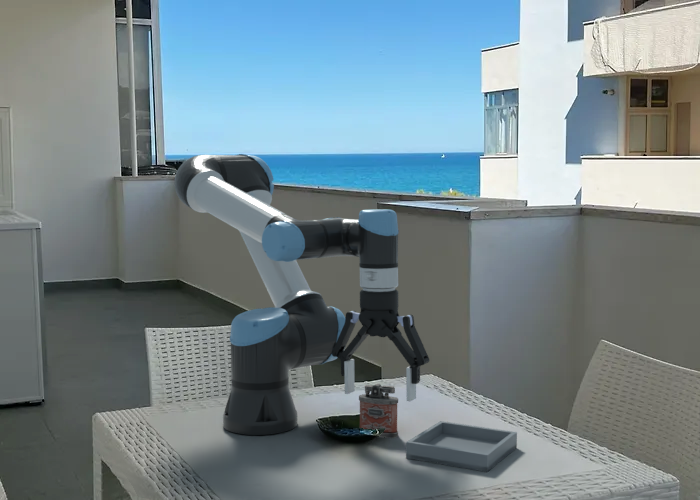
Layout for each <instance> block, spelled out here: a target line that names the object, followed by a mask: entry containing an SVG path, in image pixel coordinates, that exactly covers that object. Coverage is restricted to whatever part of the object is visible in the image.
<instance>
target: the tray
mask: <svg viewBox="0 0 700 500" xmlns="http://www.w3.org/2000/svg"><path fill="white" fill-rule="evenodd" d="M517 446H518V432H517V431H510V430H504V429H498V428H490V427H485V426H484V427H483V426H476V425H471V424H470V425H469V424H465V423H456V422H449V421H443V420H440V421H438V422H436V423H434V424H433V425H431V426H430V427H428V428H427V429H425V430H423V431H422V432H420V433H418V434H417V435H415V436H414V437H412V438H410V439H409V440H408V441H407V440H406V441H405V459H409V460H414V461H420V462H425V463H426V462H427V463H432V464H439V465H445V466H450V467H456V468H460V469H461V468H463V469H468V470H473V471H478V472H479V471H480V472H484V473H485V472H486V473H488V472H489V471H490V470H491V469H493V468H494V467H496V466H497V464H499V463H500V462H502V461H503V460H504V459H505V458H506V457H507V456H508V455H510V454H511V453H513V451H515V450H516V449H517Z"/></svg>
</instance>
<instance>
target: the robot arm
mask: <svg viewBox="0 0 700 500" xmlns="http://www.w3.org/2000/svg"><path fill="white" fill-rule="evenodd" d="M273 181H274V176H273V172H272V170H271V168H270V166H269V165H268V164H267V162H266V161H265V160H264V159H262V158H261V157H259V156H256V155H251V154H250V155H249V154H244V153H239V154H235V155H233V154H199V155H194V156H192V157H190V158H188V159H186V160H185V161H184V162H183V163H182V164H180V166H179V167H178V169H177V171H176V173H175V177H174V185H173V186H174V190H175V193H176V196H177V197H178V199H179V201H180V202H182V203H183V204H184V205H185V206H186V207H189V208H190V209H192V210H193V211H194V212H198V213H199V214H200V213H204V214H205V213H208V214H210V215H211V216H213V217H215V218H216V219H218V220H220V221H222V222H223V223H225V224H227V225H228V226H230V227H232V228H234V229H236V230H238V231H239V232H238V233H239V234H240V236H241V238H242V240H243V242H244V244H245V246H246V248H247V251H248V252H249V254H250V257H251V258H252V261H253V264H254V265H255V267H256V269H257V272H258V274H259V276H260V279H261V280H262V283H263V284H264V286H265V289H266V290H267V293H268V295H269V297H270V299H271V301H272V303H273V305H274V306H273V307H264V308H263V307H262V308H259V307H258V308H254V309H249V310H246V311H244V312H241V313H239V314H237V315H236V316H235V317H234V318H233V319H232V321H231V324H230V334H229V335H230V336H229V342H230V376H231V378H230V379H231V380H230V381H231V384H230V385H231V388H230V392H229V395H228V399H227V402H226V405H225V408H224V411H223V415H222V423H223V424H222V427H223V428H224V429H225V430H226V431H228V432H231V433H235V434H240V435H247V436H248V435H249V436H262V435H263V436H266V435H273V434H274V435H275V434H281V433H285V432H288V431H291V430H293V429H295V428H296V427H297V426H298V412H297V409H296V406H295V402H294V399H293V396H292V393H291V390H290V384H289V383H290V382H289V377H290V375H289V373H290V372H289V371H290V370H294V369H299V368H305V367H311V366H315V365H316V366H317V365H324V364H326V363H328V362H332V361H335V360H337V359H339V360H340V374H341V377H344V394H345V395H349V394H351V393H352V394H353V392H355V387H356V386H355V359H354V358H352V356H353V355H354V354H355V353H356V351H357V350H358V348H359V347H360V346H361V345H362V344H363V343H364V341H365V340H366V339H367V337H368V336H369V337H379V338H386V337H387V338H388V340H390V341H392V343H393V344H394V346H395V347H396V348H397V350H398V351H399V352H400V353H401V355H402V357H403V358H404V359H405V361H406V362H407V364H408V365H409V366H407V367H406V369H405V370H406V371H405V372H406V373H405V374H406V377H405V378H406V402H412V401H414V400H416V399H417V384H419V383H420V382H421V366H424V365H427V364H428V363H430V358H429V355H428V353H427V350H426V348H425V346H424V344H423V342H422V339H421V338H420V335H419V333H418V330H417V328H416V326H415V318H414V316H413V315H412V314H407V315H400V313H399V291H398V290H397V289H396V288H397V287H399V263H398V261H399V253H398V252H399V248H398V247H399V226H398V215H397V214H398V213H397V212H396V211H394V210H393V209H383V208H382V209H379V208H378V209H376V208H375V209H373V208H372V209H362V210H360V211H359V213H358V219H357V218H346V217H345V218H342V217H338V216H337V217H328V218H323V219H309V220H307V219H306V220H299V219H297V218H295V217H292V216H290V215H289V214H287V213H285V212H283V211H281V210H279V209H277V208H276V207H274V206H272V205H271V204H272V201H273V196H272V195H273V193H274V188H275V184H273ZM332 257H333V258H334V257H357V258H358V260H359V265H358V267H359V287H360V288H361V289H360V291H359V307H360V312H357V310H351V311H350V310H349V311H347V312H345V314H344V313H343V311H342V310H341V309H339V308H337V307H334V306H332V305H329V306H328V305H327V304H326V302H325V300H324V298H323V296H322V294H321V293H320V292H317V291H314V290H313V291H312V289H311V288H310V285H309V283H308V281H307V279H306V278H305V275H304V273H303V270H301V267H300V266H299V262H297V261H300V260H301V261H302V260H309V259H312V260H313V259H322V258H332ZM358 322H360V324H361V326H362V327H360V329H359V330H358V332H357V334H356V335H355V336H354V337H353V339H352V340H351V341H350V343H349V344H348V342H349V340H350V338H351V336H352V333H353V331H354V328H355V326H356V324H357V323H358ZM399 324H400V326H401V327H403V331H404V333H405V335H406V338H407V339H408V342H407V340H406V339H405V338H404V336H403V335H402V332H401V330H400V329H399V327H398V325H399ZM347 344H348V345H347ZM350 358H351V359H350Z"/></svg>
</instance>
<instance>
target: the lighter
mask: <svg viewBox="0 0 700 500" xmlns="http://www.w3.org/2000/svg"><path fill="white" fill-rule="evenodd" d="M395 390H396V388H395V386H392V385H381V384H380V383H375V384H365V385H364V391H365V392H364V394H359V395H358V400H359V428H363V429H372V430H375V429H379V428H385V430H384V432H383V433H382V434H381V435H380V436H379V437H378V438H384V437H385V438H388V439H394V438H397V437H398V436H399V431H398V403H399V398H398V397H395V396H390V395H389V394H395V393H396V391H395Z"/></svg>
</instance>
